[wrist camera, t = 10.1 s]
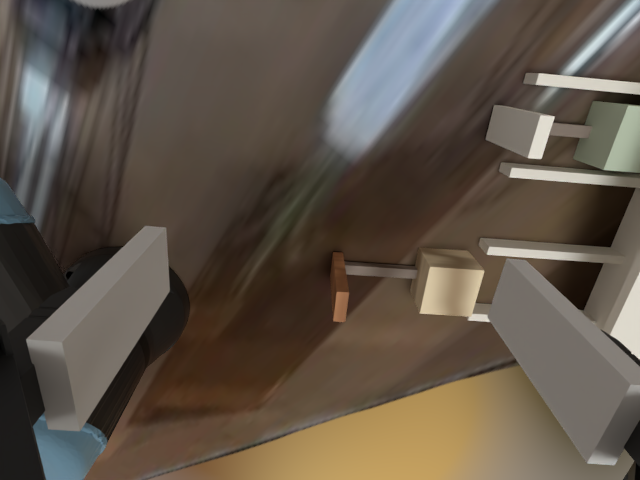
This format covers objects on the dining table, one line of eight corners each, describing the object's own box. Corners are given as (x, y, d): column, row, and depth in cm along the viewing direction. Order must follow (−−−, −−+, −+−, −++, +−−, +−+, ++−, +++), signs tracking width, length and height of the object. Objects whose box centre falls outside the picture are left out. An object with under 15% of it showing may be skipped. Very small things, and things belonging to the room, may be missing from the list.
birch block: (329, 285, 49) (332, 331, 40) (333, 241, 47) (338, 280, 38) (456, 293, 50) (486, 340, 41) (468, 250, 47) (501, 291, 39)
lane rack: (460, 308, 51) (497, 369, 41) (525, 72, 39) (599, 75, 29) (588, 317, 51) (655, 378, 41) (687, 88, 40) (813, 96, 30)
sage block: (481, 150, 42) (523, 172, 34) (496, 91, 40) (545, 98, 32) (625, 163, 43) (701, 187, 35) (648, 105, 41) (736, 116, 32)
